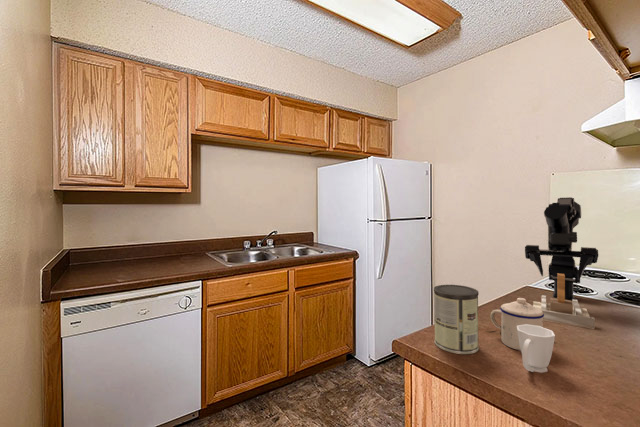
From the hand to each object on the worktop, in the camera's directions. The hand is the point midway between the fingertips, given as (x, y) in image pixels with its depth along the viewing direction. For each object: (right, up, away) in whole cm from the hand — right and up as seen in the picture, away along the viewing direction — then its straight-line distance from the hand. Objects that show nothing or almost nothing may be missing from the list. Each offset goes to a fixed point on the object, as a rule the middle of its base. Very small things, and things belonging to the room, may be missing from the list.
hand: (560, 277), depth 96 cm
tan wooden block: (-5, -11, -7) cm, 14 cm away
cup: (-31, -13, -32) cm, 47 cm away
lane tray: (-2, -12, -3) cm, 13 cm away
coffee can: (-42, -13, -20) cm, 49 cm away
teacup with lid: (-27, -13, -19) cm, 35 cm away
